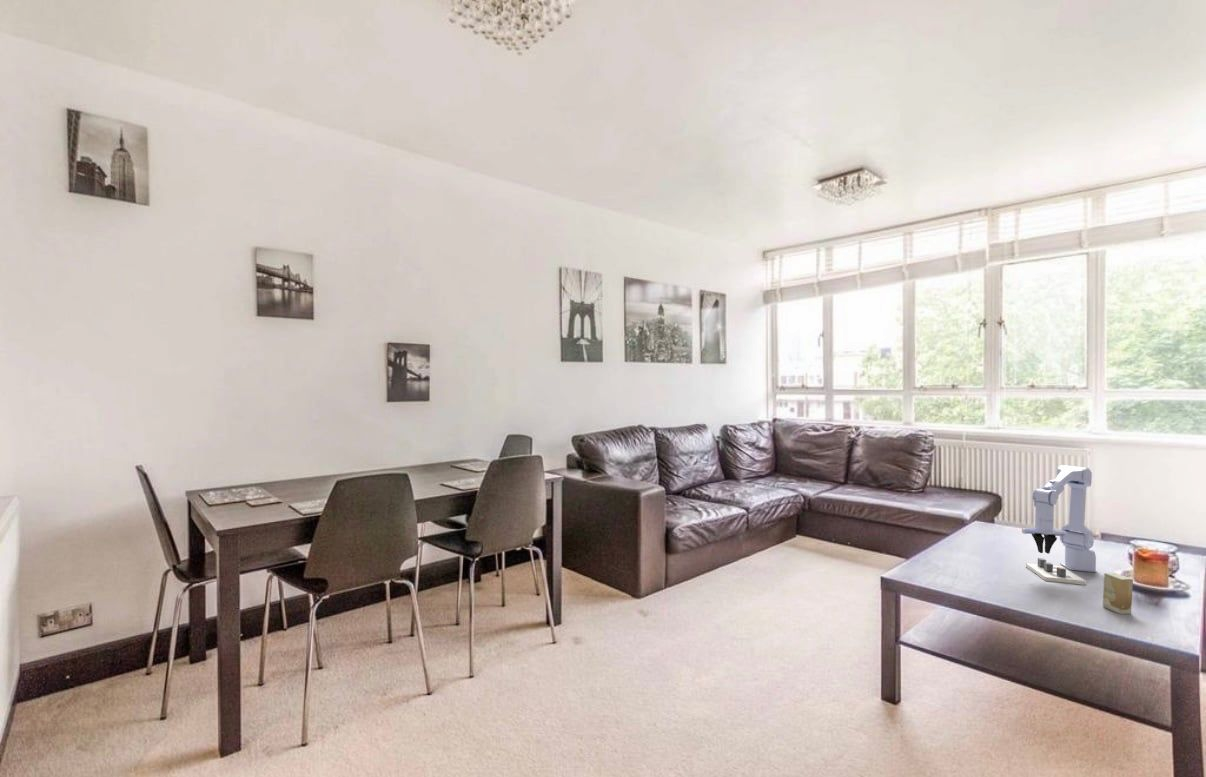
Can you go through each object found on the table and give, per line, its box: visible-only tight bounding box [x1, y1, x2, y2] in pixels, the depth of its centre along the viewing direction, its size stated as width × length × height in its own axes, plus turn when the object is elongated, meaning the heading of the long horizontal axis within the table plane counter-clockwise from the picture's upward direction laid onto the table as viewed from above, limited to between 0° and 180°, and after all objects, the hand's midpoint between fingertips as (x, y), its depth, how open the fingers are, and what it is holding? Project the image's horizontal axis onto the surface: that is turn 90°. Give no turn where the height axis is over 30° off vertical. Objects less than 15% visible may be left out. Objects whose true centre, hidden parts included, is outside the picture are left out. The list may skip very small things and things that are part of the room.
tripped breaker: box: [1057, 566, 1067, 577], centre depth 214 cm, size 2×2×3 cm
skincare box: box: [1102, 572, 1134, 615], centre depth 186 cm, size 6×4×12 cm
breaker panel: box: [1025, 557, 1086, 585], centre depth 220 cm, size 13×17×5 cm
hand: (1043, 552), depth 216 cm, fingers closed
